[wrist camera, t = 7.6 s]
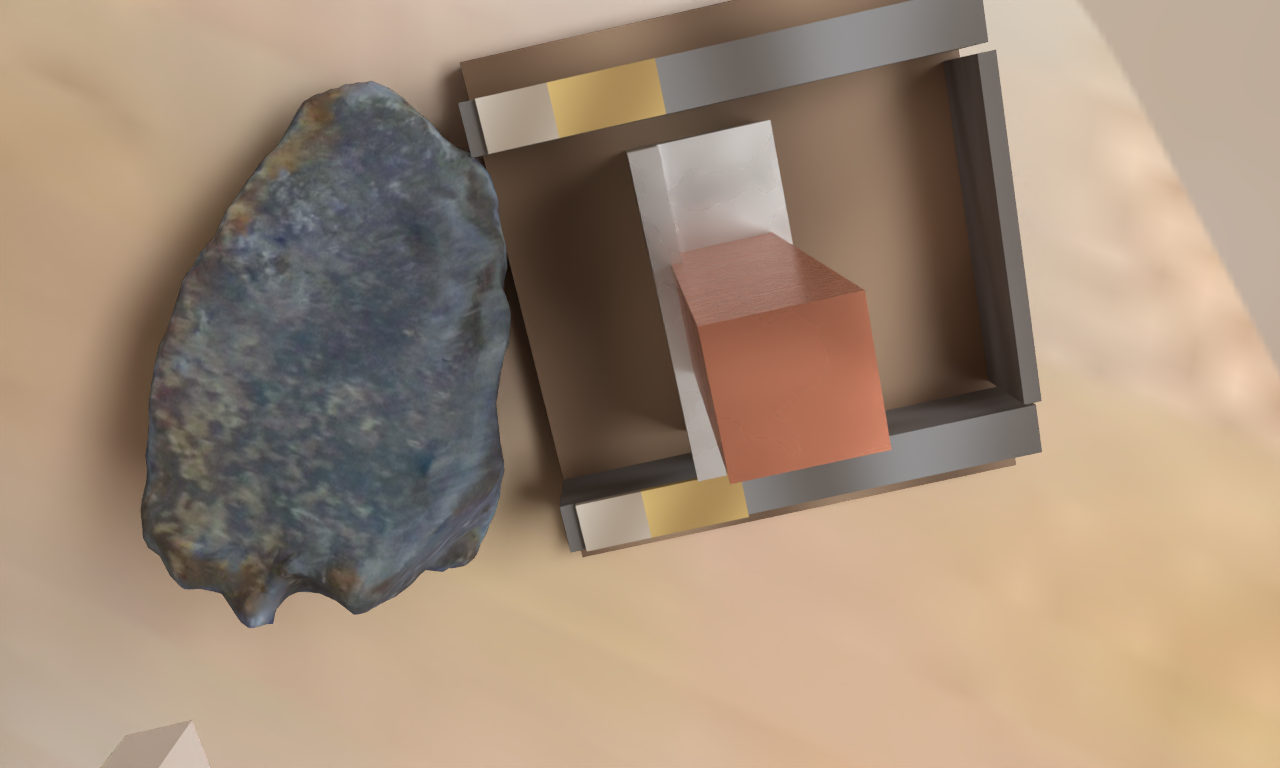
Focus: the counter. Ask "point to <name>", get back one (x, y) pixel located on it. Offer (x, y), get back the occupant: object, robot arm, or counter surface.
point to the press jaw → (753, 313)
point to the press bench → (820, 226)
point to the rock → (334, 368)
